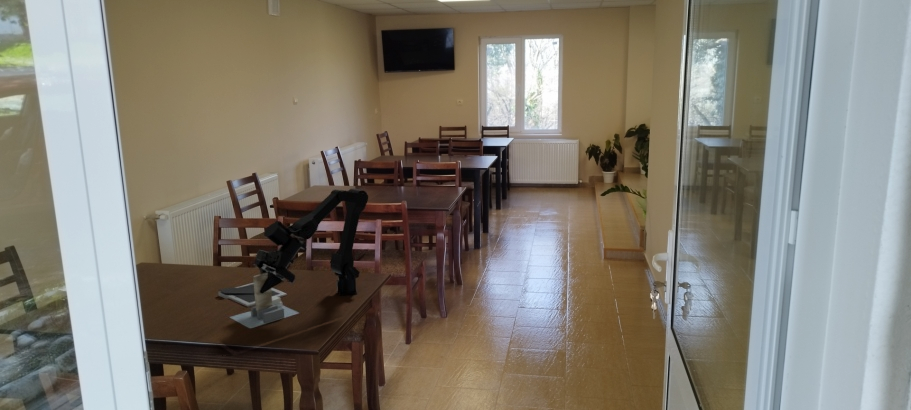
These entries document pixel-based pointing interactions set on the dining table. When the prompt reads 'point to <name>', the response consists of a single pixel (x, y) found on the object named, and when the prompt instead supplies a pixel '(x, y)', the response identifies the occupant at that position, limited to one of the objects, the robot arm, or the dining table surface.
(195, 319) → the dining table surface
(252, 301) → the picture frame
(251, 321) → the slot rack
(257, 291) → the birch panel
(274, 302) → the offcut stack
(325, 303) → the dining table surface
